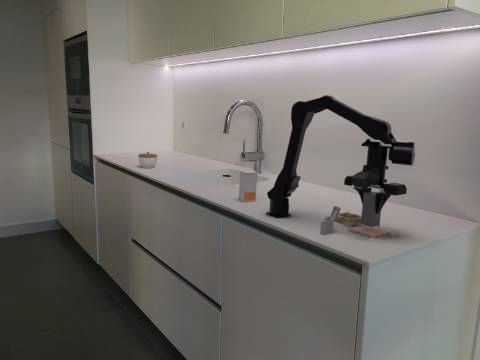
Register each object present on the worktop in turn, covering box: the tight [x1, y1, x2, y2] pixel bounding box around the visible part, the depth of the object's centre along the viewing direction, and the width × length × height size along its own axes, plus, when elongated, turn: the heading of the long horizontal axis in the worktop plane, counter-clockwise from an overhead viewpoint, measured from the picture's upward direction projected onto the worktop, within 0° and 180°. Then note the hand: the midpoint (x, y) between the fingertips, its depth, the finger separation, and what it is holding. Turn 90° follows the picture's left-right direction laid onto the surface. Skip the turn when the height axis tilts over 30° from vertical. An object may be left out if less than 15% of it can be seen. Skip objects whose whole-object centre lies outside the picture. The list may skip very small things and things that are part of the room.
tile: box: [348, 224, 391, 239], centre depth 125 cm, size 9×9×1 cm
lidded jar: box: [138, 151, 158, 169], centre depth 236 cm, size 11×11×9 cm
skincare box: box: [238, 170, 258, 203], centre depth 160 cm, size 6×4×12 cm
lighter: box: [319, 205, 342, 236], centre depth 122 cm, size 7×2×8 cm, turn 129°
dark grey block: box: [360, 190, 382, 227], centre depth 124 cm, size 4×4×10 cm
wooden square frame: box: [334, 211, 362, 227], centre depth 136 cm, size 8×8×2 cm
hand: (371, 212), depth 124 cm, fingers closed on dark grey block, 4 cm apart
